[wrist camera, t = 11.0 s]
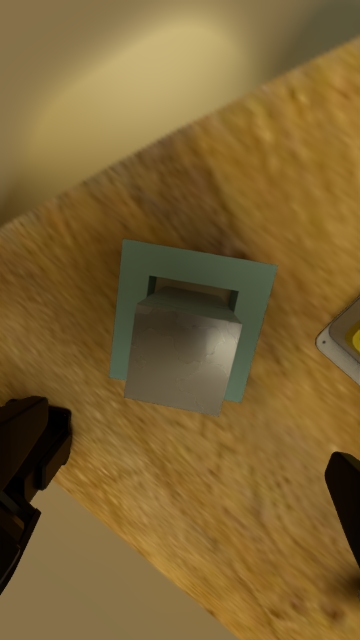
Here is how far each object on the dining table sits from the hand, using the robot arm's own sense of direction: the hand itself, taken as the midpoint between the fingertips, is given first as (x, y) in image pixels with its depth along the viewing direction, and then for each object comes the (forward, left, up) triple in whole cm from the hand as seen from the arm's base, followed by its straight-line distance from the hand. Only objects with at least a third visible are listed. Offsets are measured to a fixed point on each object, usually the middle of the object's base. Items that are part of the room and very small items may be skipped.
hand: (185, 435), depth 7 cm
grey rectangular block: (-1, +1, -12) cm, 12 cm away
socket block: (-1, +1, -13) cm, 13 cm away
